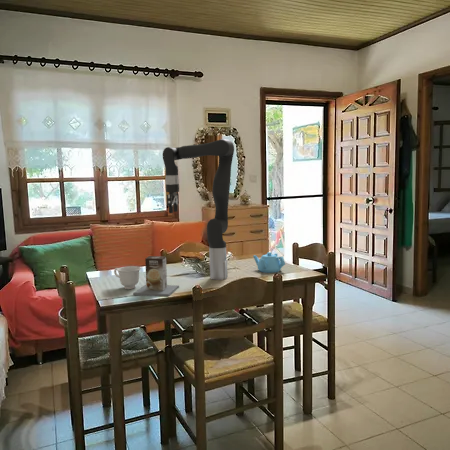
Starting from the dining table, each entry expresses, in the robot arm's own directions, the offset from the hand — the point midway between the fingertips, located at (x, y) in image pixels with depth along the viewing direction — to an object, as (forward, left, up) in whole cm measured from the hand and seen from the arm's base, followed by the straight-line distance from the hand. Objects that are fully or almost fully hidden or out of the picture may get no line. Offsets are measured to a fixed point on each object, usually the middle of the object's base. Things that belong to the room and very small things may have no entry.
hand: (173, 212), depth 241 cm
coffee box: (-1, +34, -35) cm, 49 cm away
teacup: (+17, +29, -36) cm, 49 cm away
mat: (-1, +34, -36) cm, 50 cm away
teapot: (-52, -16, -36) cm, 66 cm away
